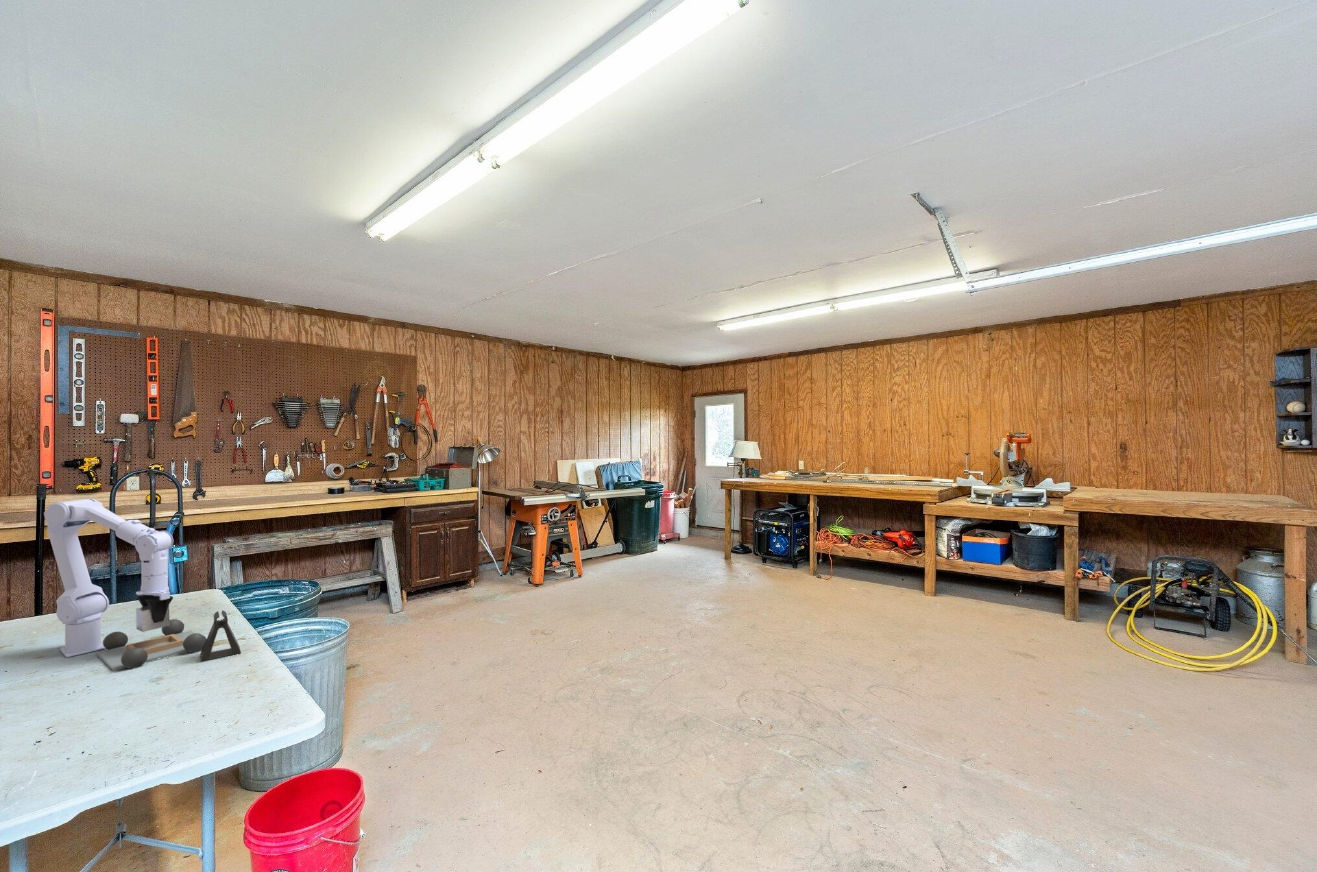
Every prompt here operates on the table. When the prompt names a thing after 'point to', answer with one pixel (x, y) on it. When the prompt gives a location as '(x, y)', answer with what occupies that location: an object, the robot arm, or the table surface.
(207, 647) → the phone stand
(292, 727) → the table surface
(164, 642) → the chassis board
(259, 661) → the table surface
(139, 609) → the block
